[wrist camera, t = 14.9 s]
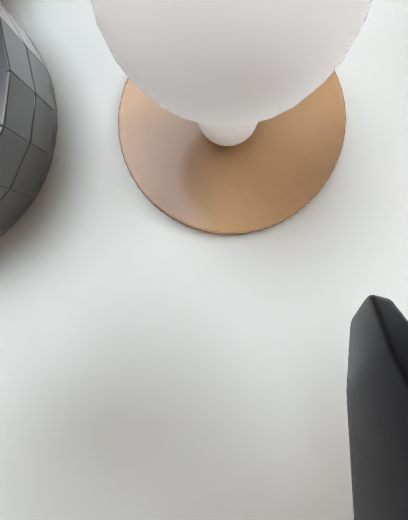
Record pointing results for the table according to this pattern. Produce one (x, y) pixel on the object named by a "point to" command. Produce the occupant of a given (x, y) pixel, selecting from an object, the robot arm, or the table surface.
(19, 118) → the pan
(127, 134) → the cork coaster
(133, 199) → the table surface
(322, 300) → the table surface
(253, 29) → the lightbulb
